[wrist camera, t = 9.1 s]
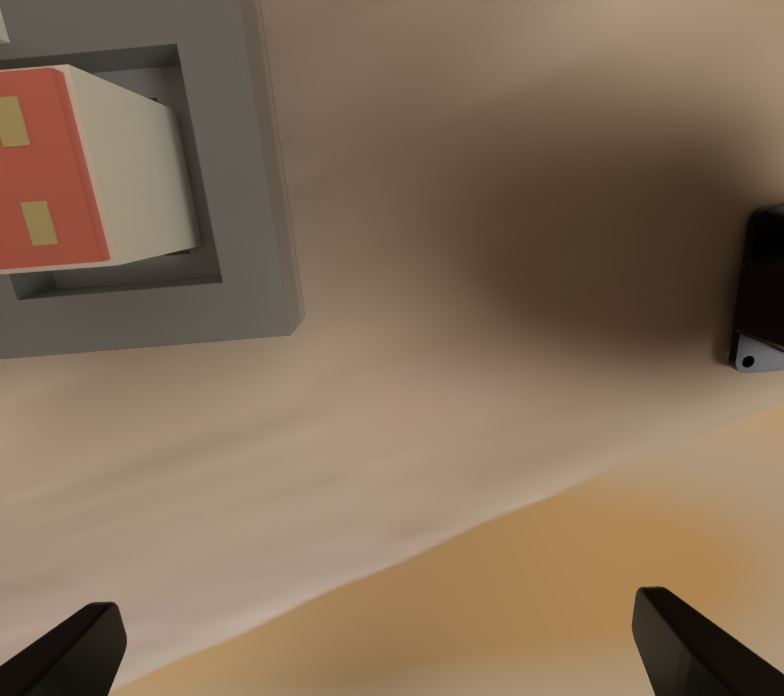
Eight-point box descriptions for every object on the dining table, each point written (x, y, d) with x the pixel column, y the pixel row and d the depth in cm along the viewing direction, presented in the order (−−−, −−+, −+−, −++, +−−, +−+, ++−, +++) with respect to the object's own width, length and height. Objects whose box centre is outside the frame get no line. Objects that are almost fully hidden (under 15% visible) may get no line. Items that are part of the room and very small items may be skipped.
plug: (175, 110, 16) (53, 58, 10) (201, 245, 17) (107, 267, 11) (45, 121, 16) (-151, 75, 10) (81, 254, 17) (-73, 282, 12)
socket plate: (258, -4, 16) (226, -56, 12) (304, 316, 19) (288, 339, 16) (-64, 27, 16) (-176, -17, 13) (37, 338, 19) (-33, 365, 16)
